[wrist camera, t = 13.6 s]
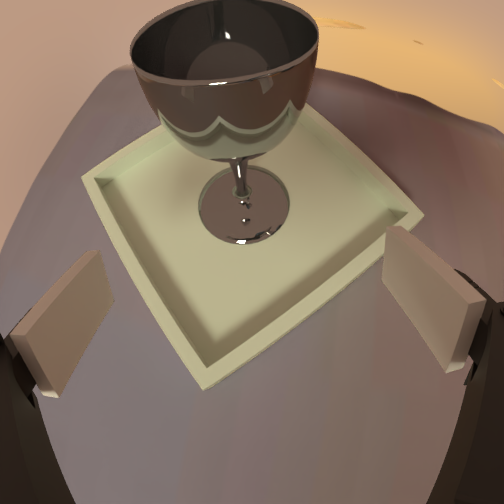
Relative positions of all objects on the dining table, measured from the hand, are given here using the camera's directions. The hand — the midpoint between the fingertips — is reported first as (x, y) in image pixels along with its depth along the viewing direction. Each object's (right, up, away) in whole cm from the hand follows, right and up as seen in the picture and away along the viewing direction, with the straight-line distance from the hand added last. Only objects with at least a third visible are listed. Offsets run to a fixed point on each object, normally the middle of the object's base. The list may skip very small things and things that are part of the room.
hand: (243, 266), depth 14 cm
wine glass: (0, +4, +11) cm, 12 cm away
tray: (0, +4, +12) cm, 12 cm away
